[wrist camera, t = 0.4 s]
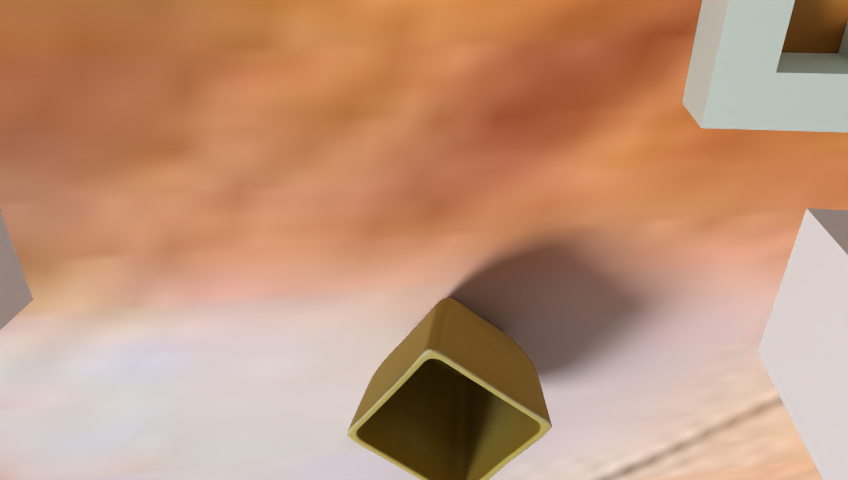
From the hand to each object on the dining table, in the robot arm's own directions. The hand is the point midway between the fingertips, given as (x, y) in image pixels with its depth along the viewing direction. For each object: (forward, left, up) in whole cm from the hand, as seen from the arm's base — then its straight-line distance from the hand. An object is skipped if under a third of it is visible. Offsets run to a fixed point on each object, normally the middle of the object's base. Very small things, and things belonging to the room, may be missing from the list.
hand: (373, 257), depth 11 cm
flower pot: (+23, 0, -27) cm, 35 cm away
